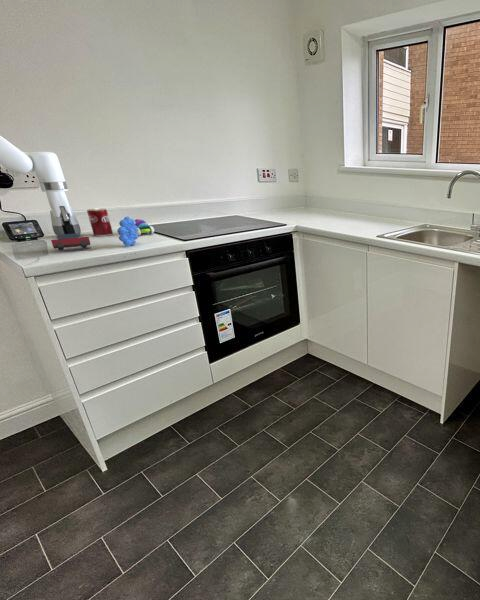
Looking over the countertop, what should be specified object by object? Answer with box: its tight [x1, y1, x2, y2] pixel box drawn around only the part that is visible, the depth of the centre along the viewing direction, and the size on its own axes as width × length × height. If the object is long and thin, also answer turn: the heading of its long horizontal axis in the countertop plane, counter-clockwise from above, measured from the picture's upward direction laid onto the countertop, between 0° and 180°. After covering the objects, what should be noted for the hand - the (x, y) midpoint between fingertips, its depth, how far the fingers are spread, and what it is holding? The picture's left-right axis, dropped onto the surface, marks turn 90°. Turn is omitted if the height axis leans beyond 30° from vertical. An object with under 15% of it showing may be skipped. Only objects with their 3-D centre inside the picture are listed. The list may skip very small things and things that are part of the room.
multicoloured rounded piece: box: [134, 218, 155, 237], centre depth 171 cm, size 8×10×7 cm
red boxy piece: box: [50, 233, 91, 251], centre depth 139 cm, size 11×5×6 cm
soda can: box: [86, 208, 114, 237], centre depth 165 cm, size 7×7×12 cm
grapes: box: [116, 216, 139, 247], centre depth 148 cm, size 12×7×12 cm, turn 7°
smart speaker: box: [49, 204, 82, 237], centre depth 159 cm, size 10×9×14 cm
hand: (70, 234), depth 139 cm, fingers closed
